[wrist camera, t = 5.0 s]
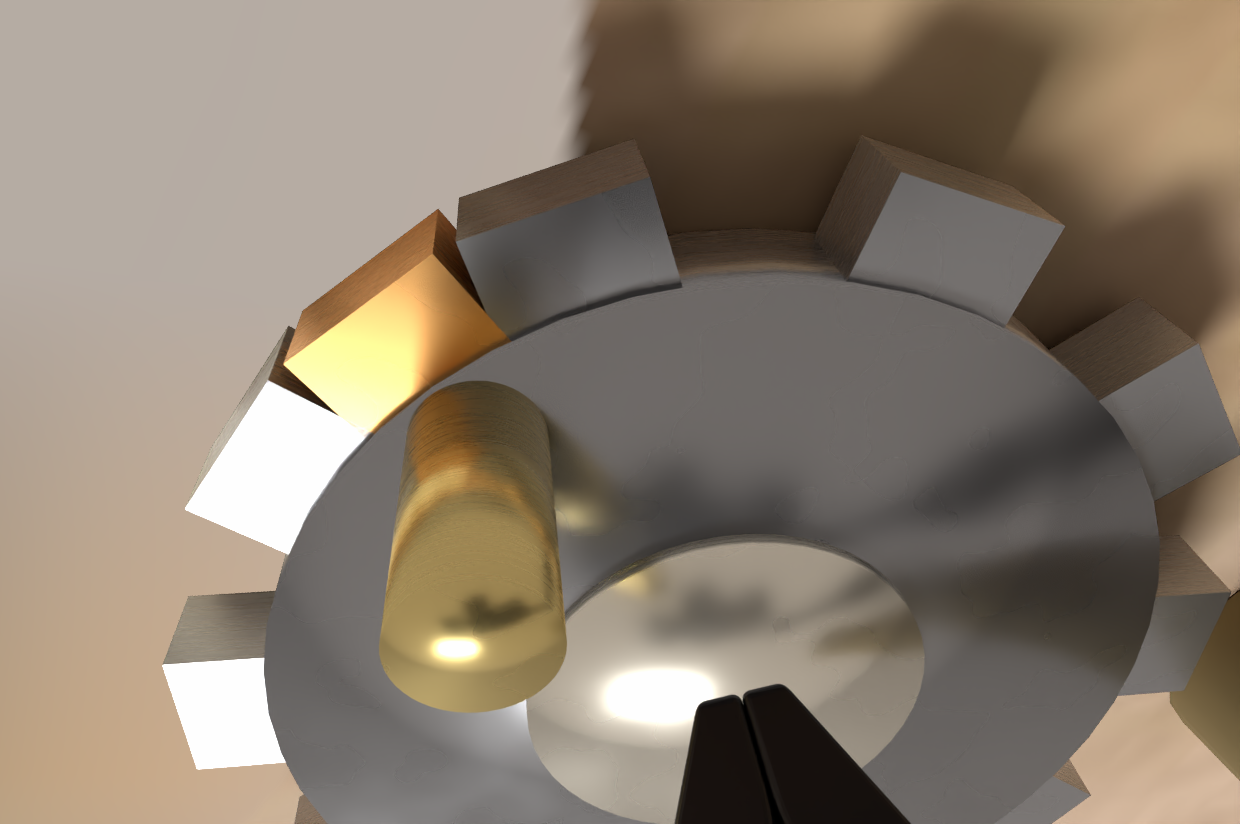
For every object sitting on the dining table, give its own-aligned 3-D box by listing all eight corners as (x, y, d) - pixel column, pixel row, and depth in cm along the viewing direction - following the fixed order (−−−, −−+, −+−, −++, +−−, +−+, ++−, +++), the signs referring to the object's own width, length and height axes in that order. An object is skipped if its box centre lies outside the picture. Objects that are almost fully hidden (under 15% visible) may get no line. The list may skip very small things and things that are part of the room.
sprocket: (934, -171, 12) (1252, -145, 7) (1279, 636, 21) (1524, 898, 16) (-46, 568, 16) (-284, 912, 11) (594, 974, 26) (619, 1263, 21)
